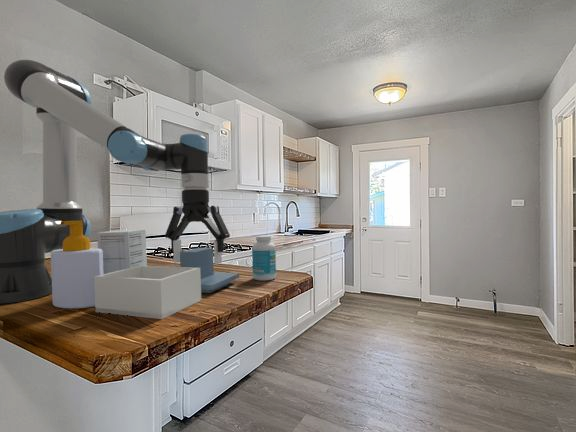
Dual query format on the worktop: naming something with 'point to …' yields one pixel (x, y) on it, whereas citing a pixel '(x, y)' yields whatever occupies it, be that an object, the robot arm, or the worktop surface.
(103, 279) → the tub
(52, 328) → the worktop surface
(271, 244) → the pill bottle
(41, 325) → the worktop surface
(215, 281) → the lid
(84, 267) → the soap bottle
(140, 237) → the supplement box
